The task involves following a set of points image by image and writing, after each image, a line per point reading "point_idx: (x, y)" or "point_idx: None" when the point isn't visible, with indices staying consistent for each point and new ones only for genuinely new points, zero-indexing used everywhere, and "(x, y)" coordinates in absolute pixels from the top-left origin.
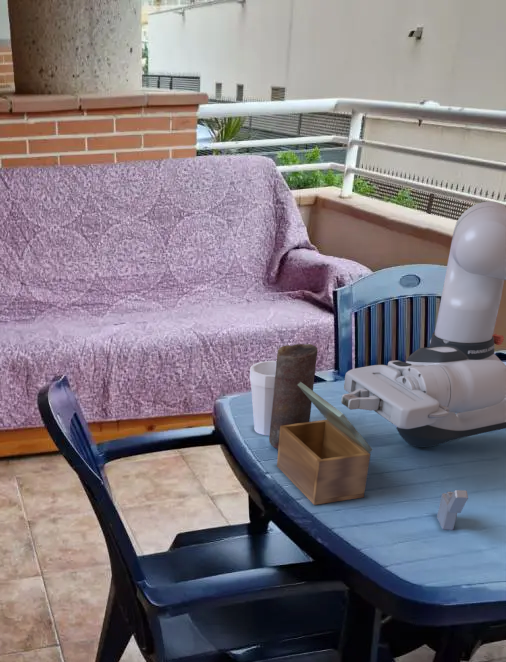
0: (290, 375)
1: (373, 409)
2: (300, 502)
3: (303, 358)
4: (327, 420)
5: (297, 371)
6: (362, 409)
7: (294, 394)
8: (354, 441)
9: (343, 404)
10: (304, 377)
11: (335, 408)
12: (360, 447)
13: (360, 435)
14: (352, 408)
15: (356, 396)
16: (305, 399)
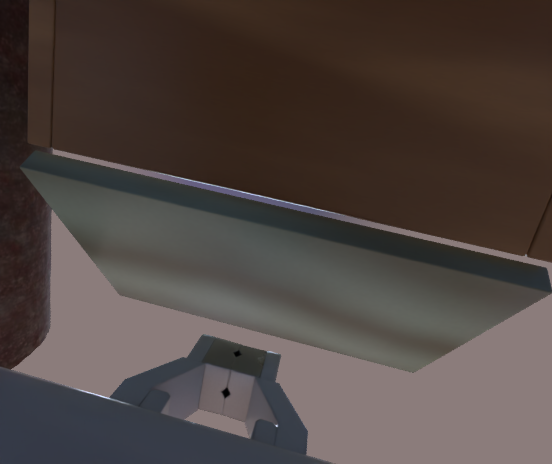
0: (50, 272)
1: (304, 450)
2: None
3: (36, 345)
4: (47, 147)
5: (46, 296)
6: (286, 396)
7: (47, 215)
8: (370, 227)
9: (223, 340)
10: (27, 286)
11: (364, 358)
12: (445, 236)
13: (474, 337)
14: (278, 364)
15: (174, 408)
16: (9, 197)
